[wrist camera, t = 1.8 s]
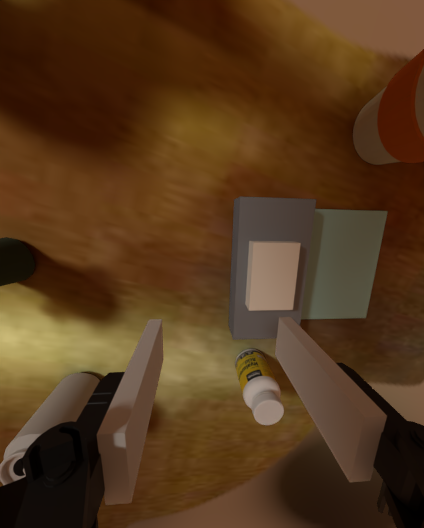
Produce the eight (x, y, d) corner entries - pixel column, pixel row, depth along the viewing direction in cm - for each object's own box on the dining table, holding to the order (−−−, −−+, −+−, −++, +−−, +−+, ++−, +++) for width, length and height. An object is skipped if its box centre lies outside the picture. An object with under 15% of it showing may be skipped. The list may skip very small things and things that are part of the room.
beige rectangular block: (249, 240, 27) (253, 242, 25) (293, 241, 27) (300, 243, 25) (245, 304, 29) (249, 310, 27) (286, 303, 29) (292, 309, 27)
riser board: (234, 199, 29) (240, 196, 25) (300, 201, 30) (316, 199, 26) (228, 325, 34) (233, 339, 30) (286, 324, 34) (298, 337, 31)
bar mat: (299, 208, 30) (300, 208, 30) (385, 211, 32) (387, 211, 31) (287, 318, 34) (288, 319, 34) (364, 317, 35) (365, 318, 35)
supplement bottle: (250, 341, 35) (271, 388, 25) (270, 359, 36) (298, 410, 26) (228, 362, 35) (240, 416, 26) (249, 379, 36) (268, 436, 27)
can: (71, 361, 33) (3, 441, 21) (115, 379, 34) (74, 463, 22) (53, 396, 34) (-21, 490, 22) (96, 412, 35) (47, 508, 24)
